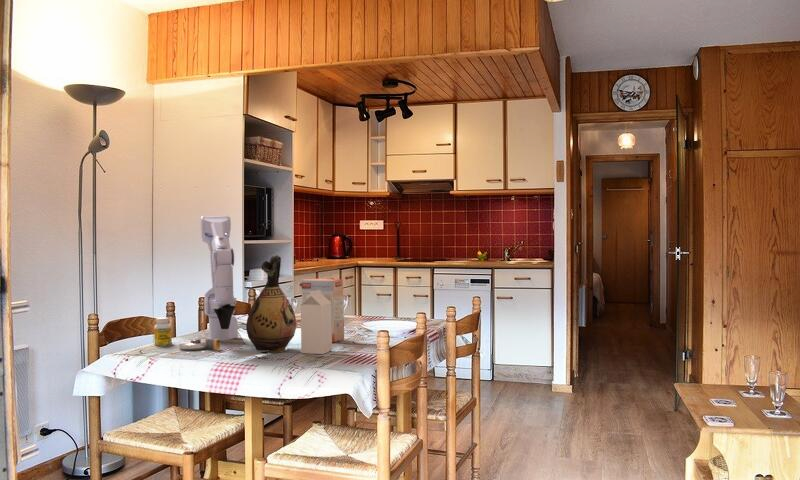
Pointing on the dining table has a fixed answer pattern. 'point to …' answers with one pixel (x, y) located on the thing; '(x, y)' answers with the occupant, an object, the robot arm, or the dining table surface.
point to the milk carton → (316, 324)
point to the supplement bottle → (162, 332)
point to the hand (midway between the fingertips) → (225, 328)
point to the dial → (200, 344)
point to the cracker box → (334, 294)
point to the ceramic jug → (271, 314)
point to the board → (176, 350)
